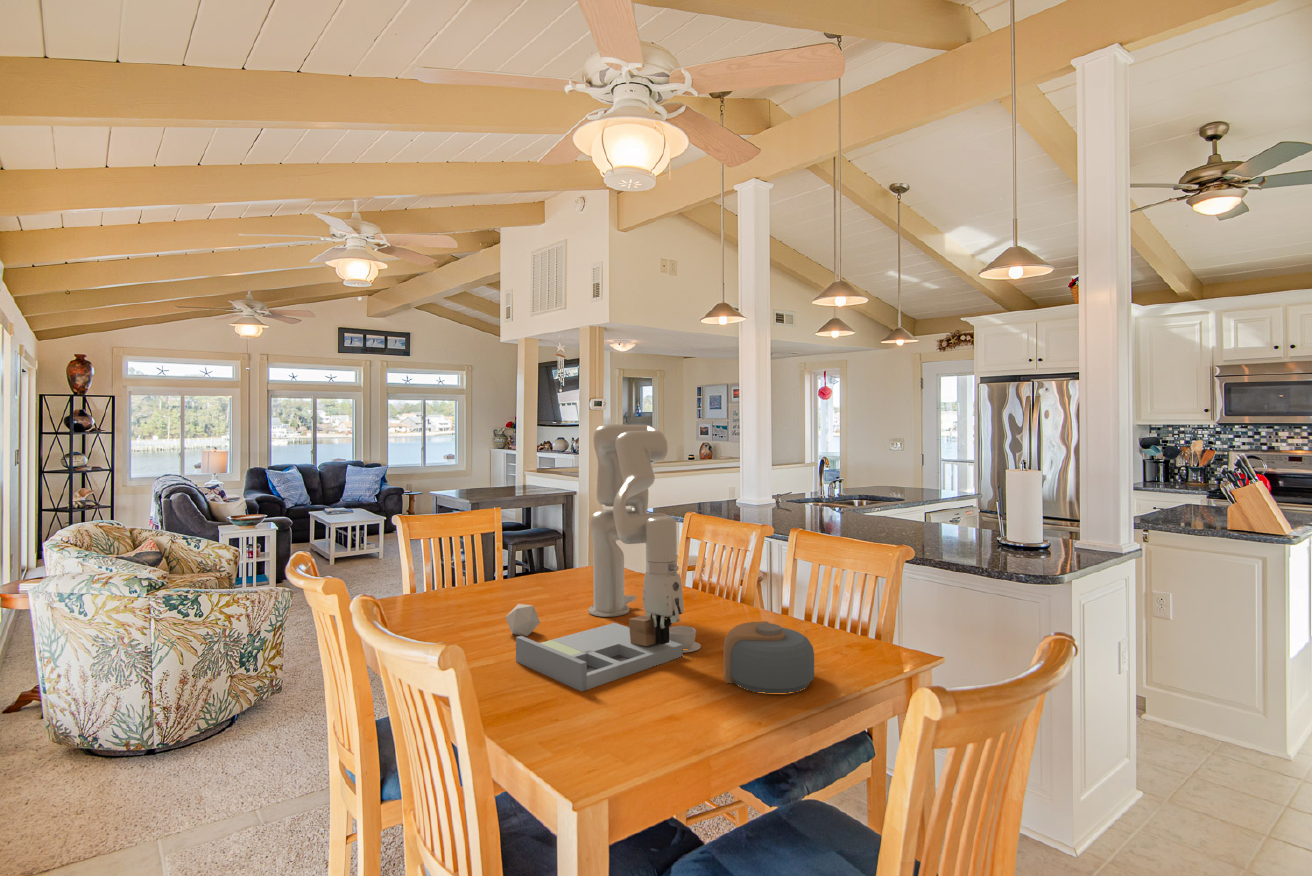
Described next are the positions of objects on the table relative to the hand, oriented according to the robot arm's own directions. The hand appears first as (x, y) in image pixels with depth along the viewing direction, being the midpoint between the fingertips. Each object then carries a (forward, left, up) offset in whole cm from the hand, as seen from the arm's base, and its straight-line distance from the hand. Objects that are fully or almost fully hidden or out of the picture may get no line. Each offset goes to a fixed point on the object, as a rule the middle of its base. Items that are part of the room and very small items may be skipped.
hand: (662, 643), depth 162 cm
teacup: (-11, -4, -5) cm, 12 cm away
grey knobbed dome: (-9, +25, -5) cm, 27 cm away
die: (+12, -43, -5) cm, 45 cm away
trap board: (+9, -12, -4) cm, 16 cm away
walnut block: (0, -5, -1) cm, 5 cm away
